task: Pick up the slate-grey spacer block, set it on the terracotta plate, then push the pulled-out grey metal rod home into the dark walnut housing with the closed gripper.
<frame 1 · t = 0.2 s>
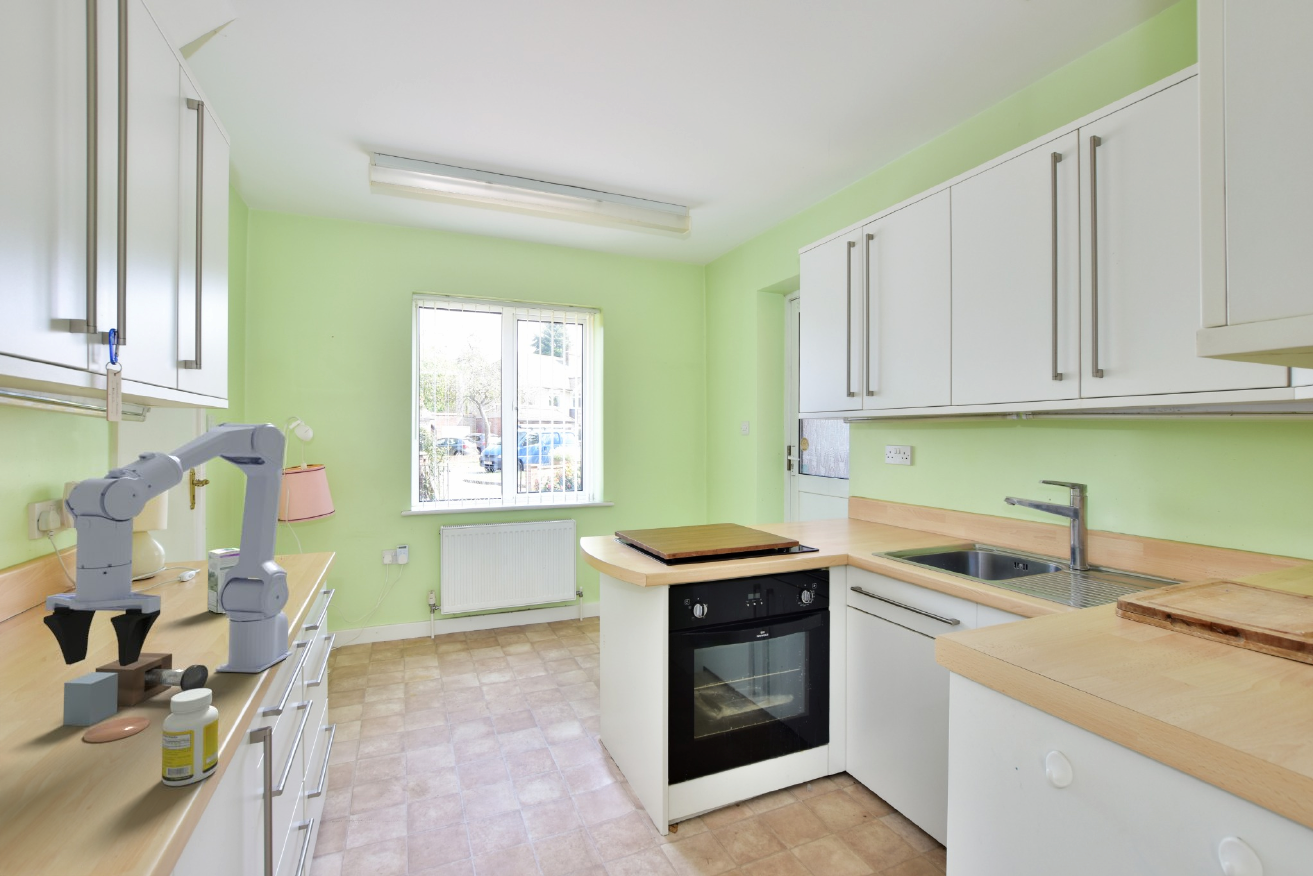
hand: (102, 662, 82), 10 cm above the table, tool pointing down, fingers open, 7 cm apart
supplement bottle: (190, 776, 72), on the table
syrup box: (225, 611, 142), on the table
plate: (117, 730, 83), on the table
rod housing: (134, 695, 94), on the table
rod: (172, 677, 94), point 3 cm above the table, slide at 6.0 cm
spacer block: (90, 719, 86), on the table
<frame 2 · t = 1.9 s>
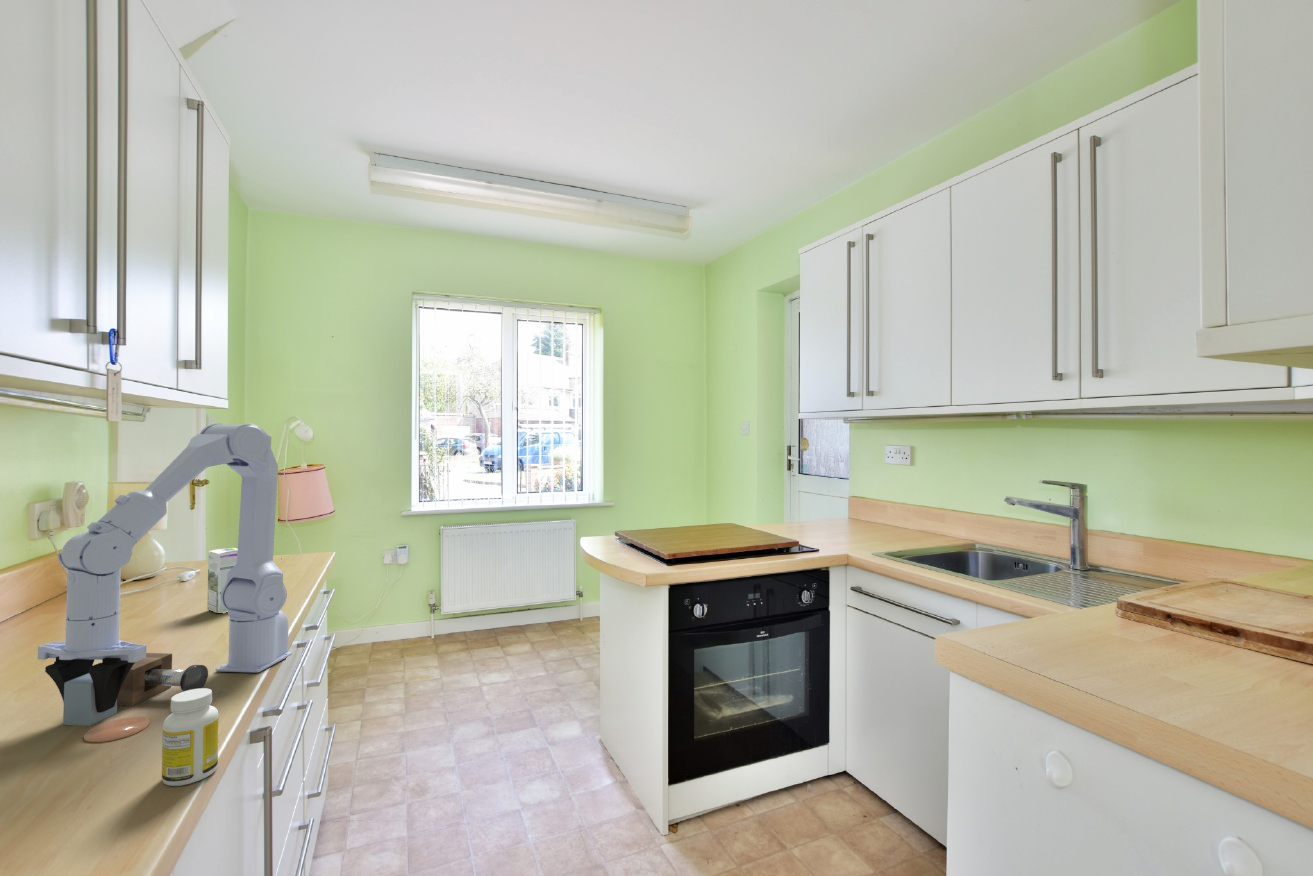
hand: (90, 709, 86), 1 cm above the table, tool pointing down, fingers closed on spacer block, 4 cm apart
spacer block: (90, 718, 86), on the table, touching gripper
everything else where it was.
when the fingers open (3 cm above the table, at t = 6.1 s): spacer block drops 1 cm, resting on plate.
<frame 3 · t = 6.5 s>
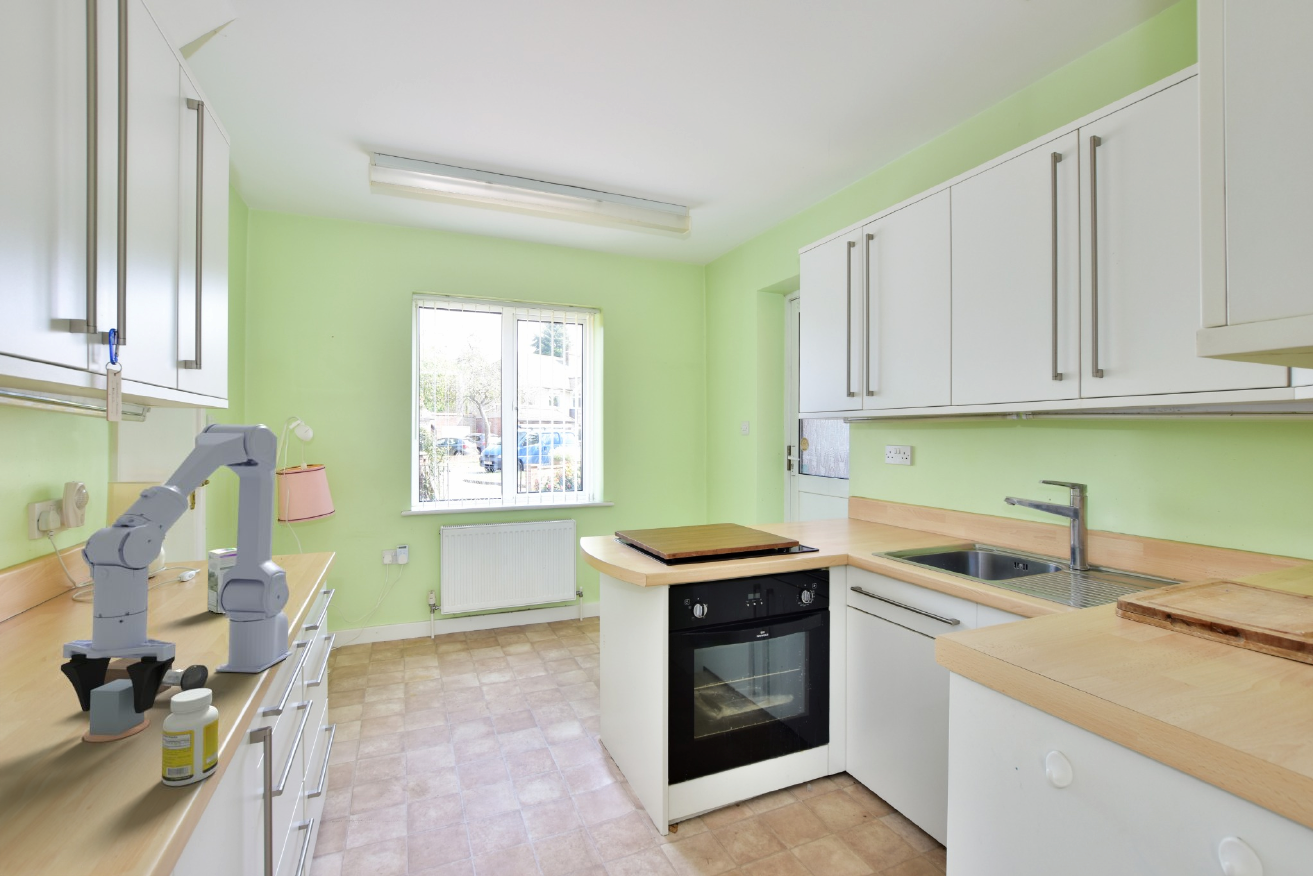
hand: (118, 709, 83), 3 cm above the table, tool pointing down, fingers open, 7 cm apart
spacer block: (117, 728, 83), resting on plate
everything else where it was.
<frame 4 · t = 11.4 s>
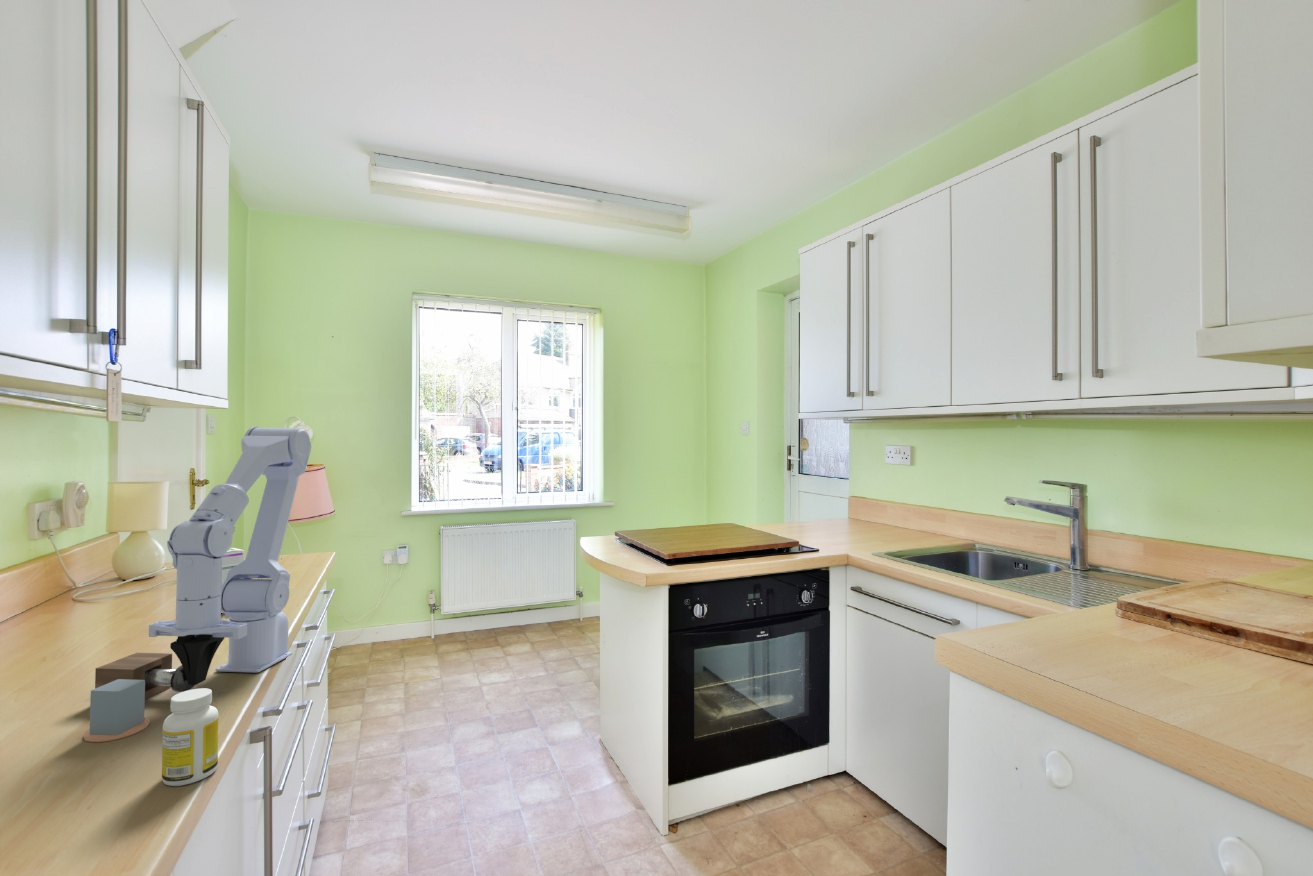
hand: (196, 682, 94), 2 cm above the table, tool pointing down, fingers closed
rod: (162, 677, 94), point 3 cm above the table, slide at 4.4 cm, touching gripper
everything else where it was.
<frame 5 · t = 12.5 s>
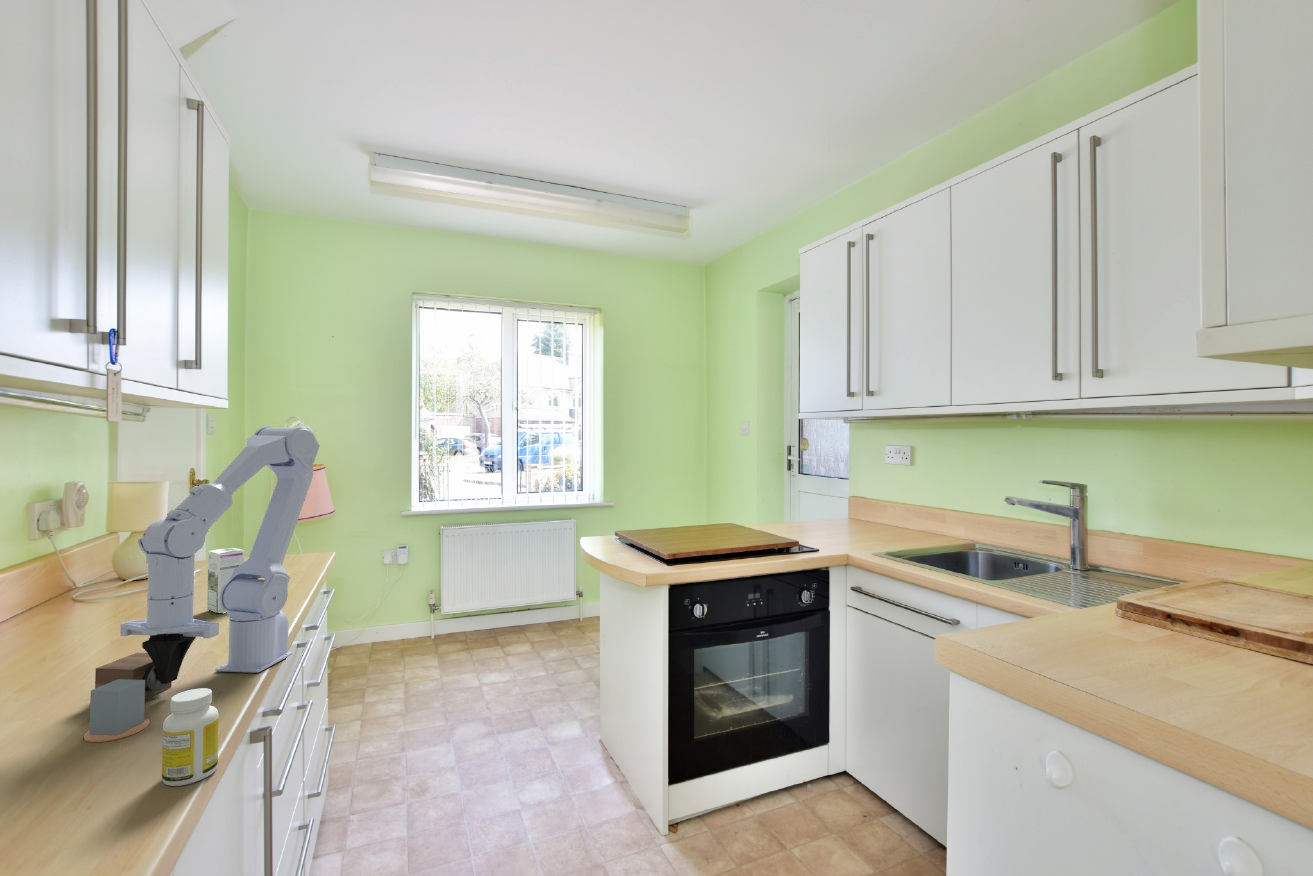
hand: (168, 681, 94), 2 cm above the table, tool pointing down, fingers closed
rod: (135, 676, 94), point 3 cm above the table, slide at -0.1 cm, touching gripper
everything else where it was.
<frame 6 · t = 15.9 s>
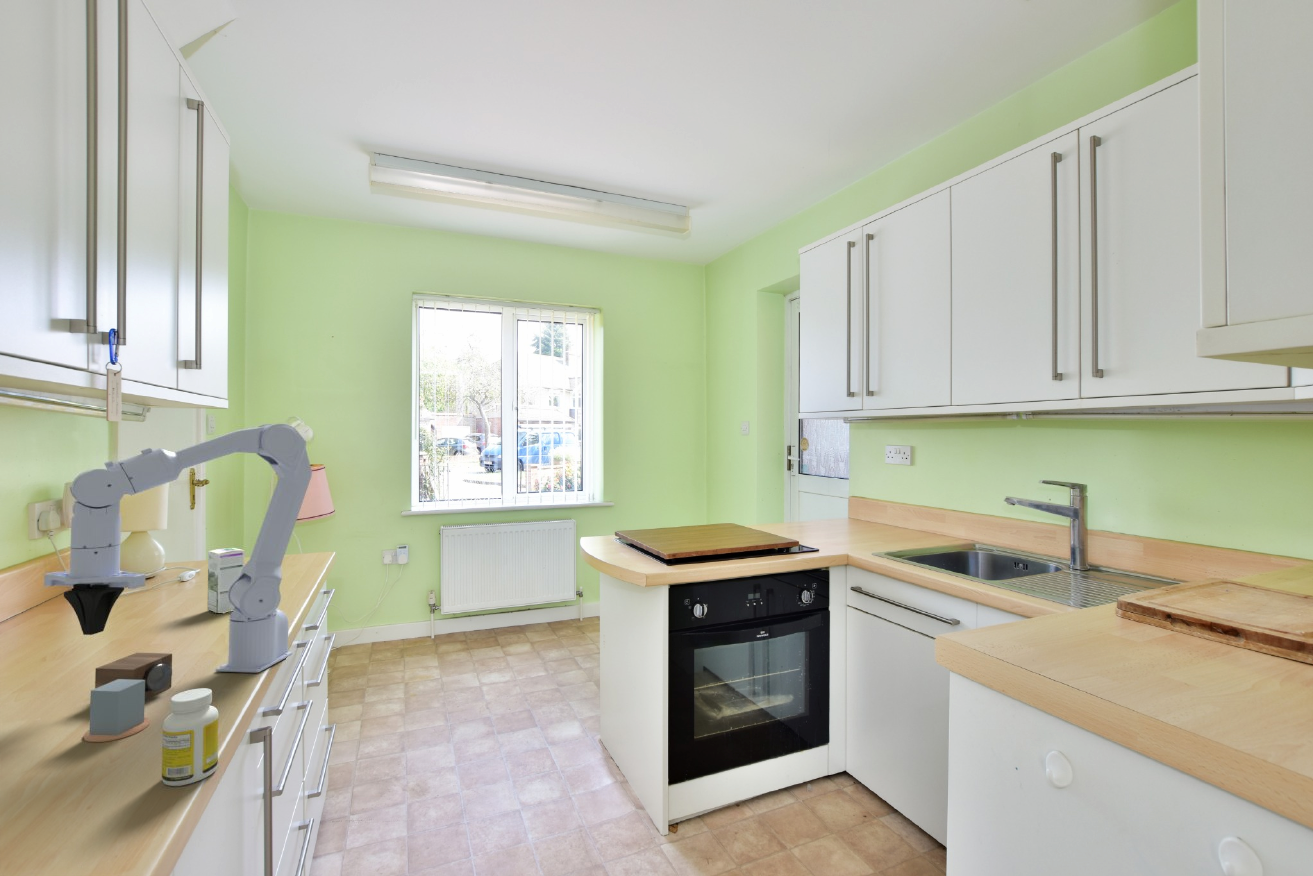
hand: (93, 632, 93), 10 cm above the table, tool pointing down, fingers closed
rod: (135, 676, 94), point 3 cm above the table, slide at 0.0 cm
everything else where it was.
at the end: rod slide at 0.0 cm; spacer block 0.0 cm off-centre on the plate, point 0.3 cm above the plate's base; spacer block tilted 0° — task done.
